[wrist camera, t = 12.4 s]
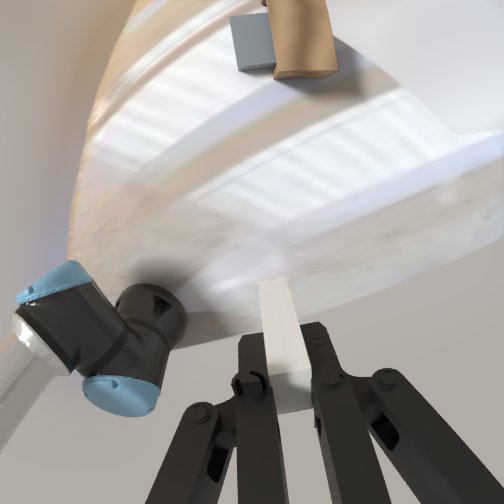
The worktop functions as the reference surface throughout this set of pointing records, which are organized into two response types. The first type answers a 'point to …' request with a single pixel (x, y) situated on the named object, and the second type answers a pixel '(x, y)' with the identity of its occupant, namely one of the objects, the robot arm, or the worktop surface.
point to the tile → (253, 41)
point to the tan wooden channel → (301, 39)
